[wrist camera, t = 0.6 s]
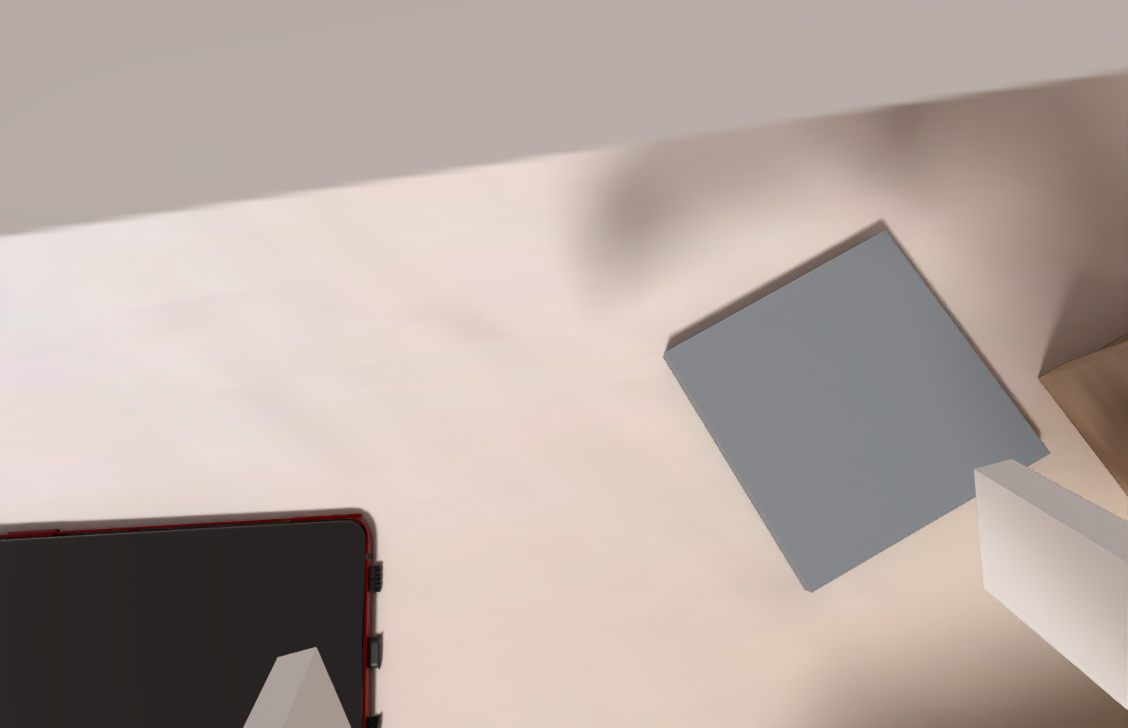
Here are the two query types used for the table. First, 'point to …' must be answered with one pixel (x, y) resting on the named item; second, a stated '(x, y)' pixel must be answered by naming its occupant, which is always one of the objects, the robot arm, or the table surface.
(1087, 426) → the rack
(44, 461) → the table surface
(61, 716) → the smartphone
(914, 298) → the pad
